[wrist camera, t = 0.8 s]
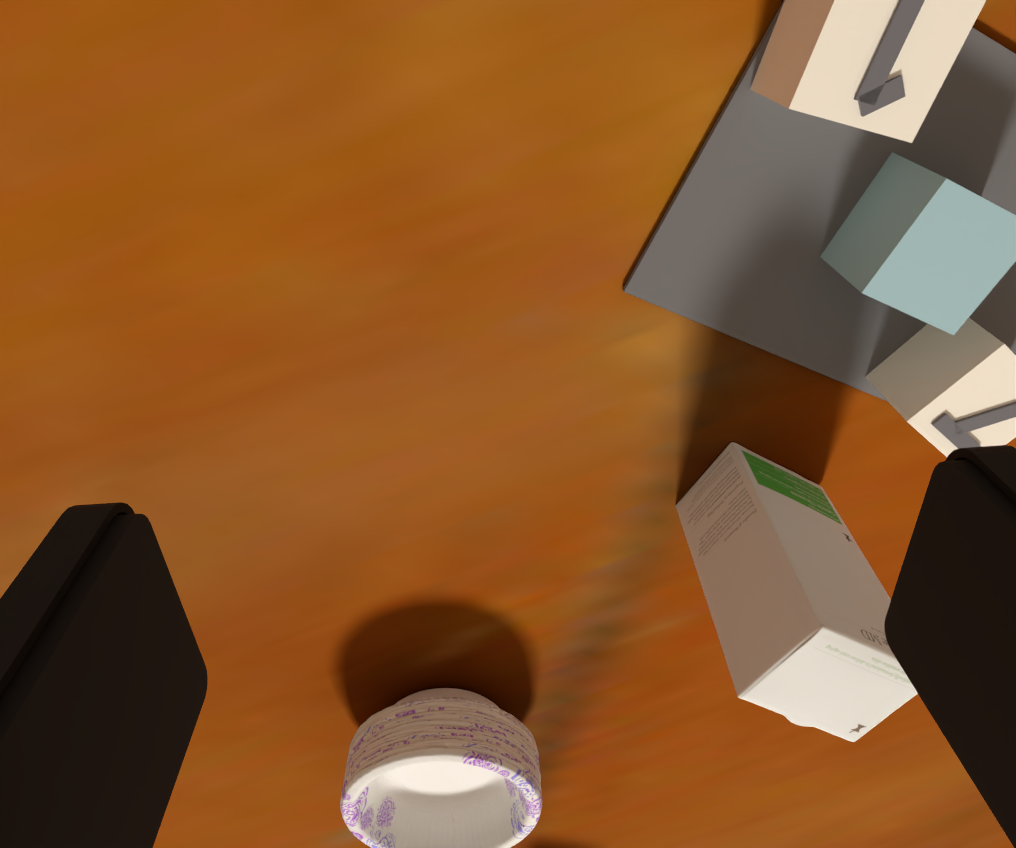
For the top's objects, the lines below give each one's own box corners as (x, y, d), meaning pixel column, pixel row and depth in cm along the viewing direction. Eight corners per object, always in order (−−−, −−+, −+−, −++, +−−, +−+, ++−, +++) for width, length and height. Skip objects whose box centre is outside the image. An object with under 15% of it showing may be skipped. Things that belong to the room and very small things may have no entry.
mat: (819, -65, 32) (823, -64, 32) (1183, 158, 39) (1190, 160, 38) (622, 288, 41) (623, 291, 41) (946, 424, 47) (950, 427, 47)
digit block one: (806, -56, 32) (860, -56, 28) (925, -17, 33) (995, -11, 29) (749, 89, 35) (790, 109, 31) (860, 120, 36) (914, 144, 32)
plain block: (892, 152, 37) (946, 178, 33) (980, 199, 39) (1042, 229, 35) (820, 256, 40) (861, 293, 36) (904, 296, 42) (953, 335, 38)
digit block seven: (950, 304, 42) (1006, 345, 38) (1005, 360, 45) (1064, 405, 40) (865, 376, 45) (908, 423, 40) (920, 426, 47) (967, 475, 43)
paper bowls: (313, 720, 61) (295, 815, 54) (452, 635, 56) (451, 728, 49) (437, 794, 68) (434, 887, 61) (570, 724, 63) (583, 817, 56)
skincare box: (823, 485, 50) (951, 677, 37) (759, 549, 53) (856, 749, 40) (727, 436, 47) (828, 625, 34) (665, 508, 50) (737, 706, 37)
